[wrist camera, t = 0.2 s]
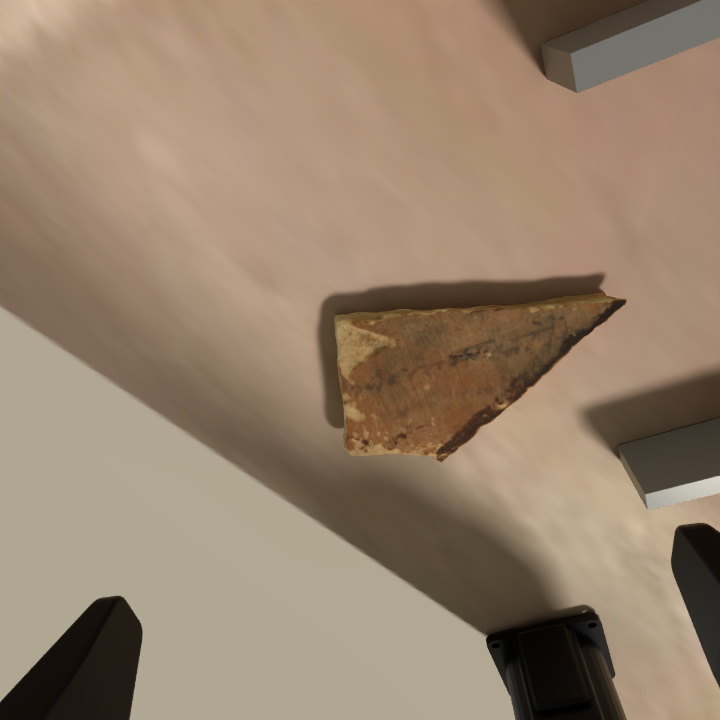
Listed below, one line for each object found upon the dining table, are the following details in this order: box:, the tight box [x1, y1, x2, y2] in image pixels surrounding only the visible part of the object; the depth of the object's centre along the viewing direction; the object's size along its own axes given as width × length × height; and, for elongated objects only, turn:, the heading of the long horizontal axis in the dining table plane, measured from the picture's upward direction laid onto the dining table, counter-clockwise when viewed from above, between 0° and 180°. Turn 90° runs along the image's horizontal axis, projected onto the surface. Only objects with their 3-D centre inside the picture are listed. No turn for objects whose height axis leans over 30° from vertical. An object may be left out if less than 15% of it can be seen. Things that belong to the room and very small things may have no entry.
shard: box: [334, 292, 627, 462], centre depth 24 cm, size 11×8×2 cm
